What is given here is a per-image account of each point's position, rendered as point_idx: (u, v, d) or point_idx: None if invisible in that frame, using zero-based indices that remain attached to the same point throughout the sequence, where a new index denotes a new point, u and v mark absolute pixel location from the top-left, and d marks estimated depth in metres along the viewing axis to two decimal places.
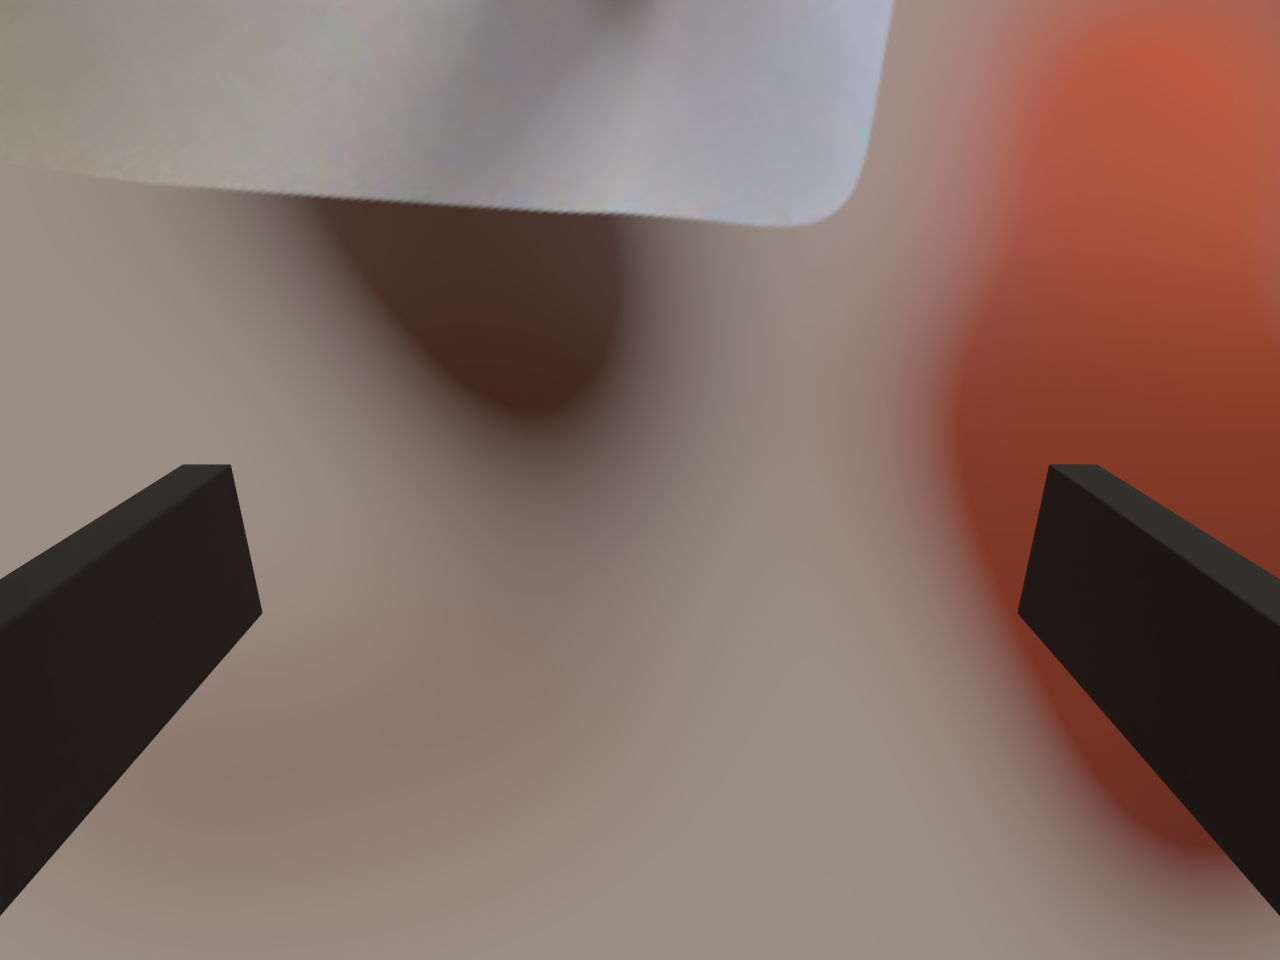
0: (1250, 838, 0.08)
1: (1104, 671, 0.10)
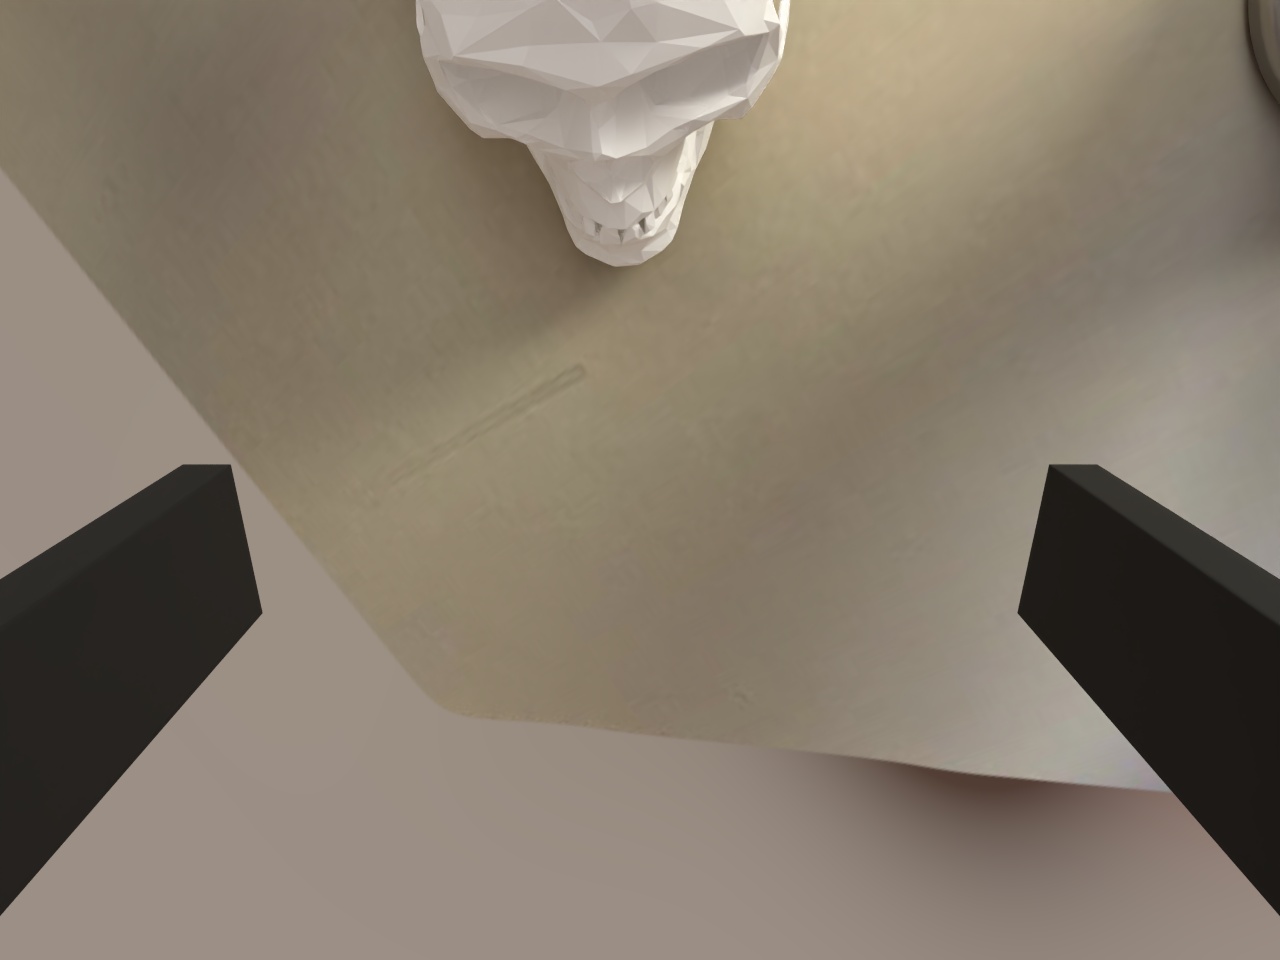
0: (1251, 838, 0.08)
1: (1104, 672, 0.10)
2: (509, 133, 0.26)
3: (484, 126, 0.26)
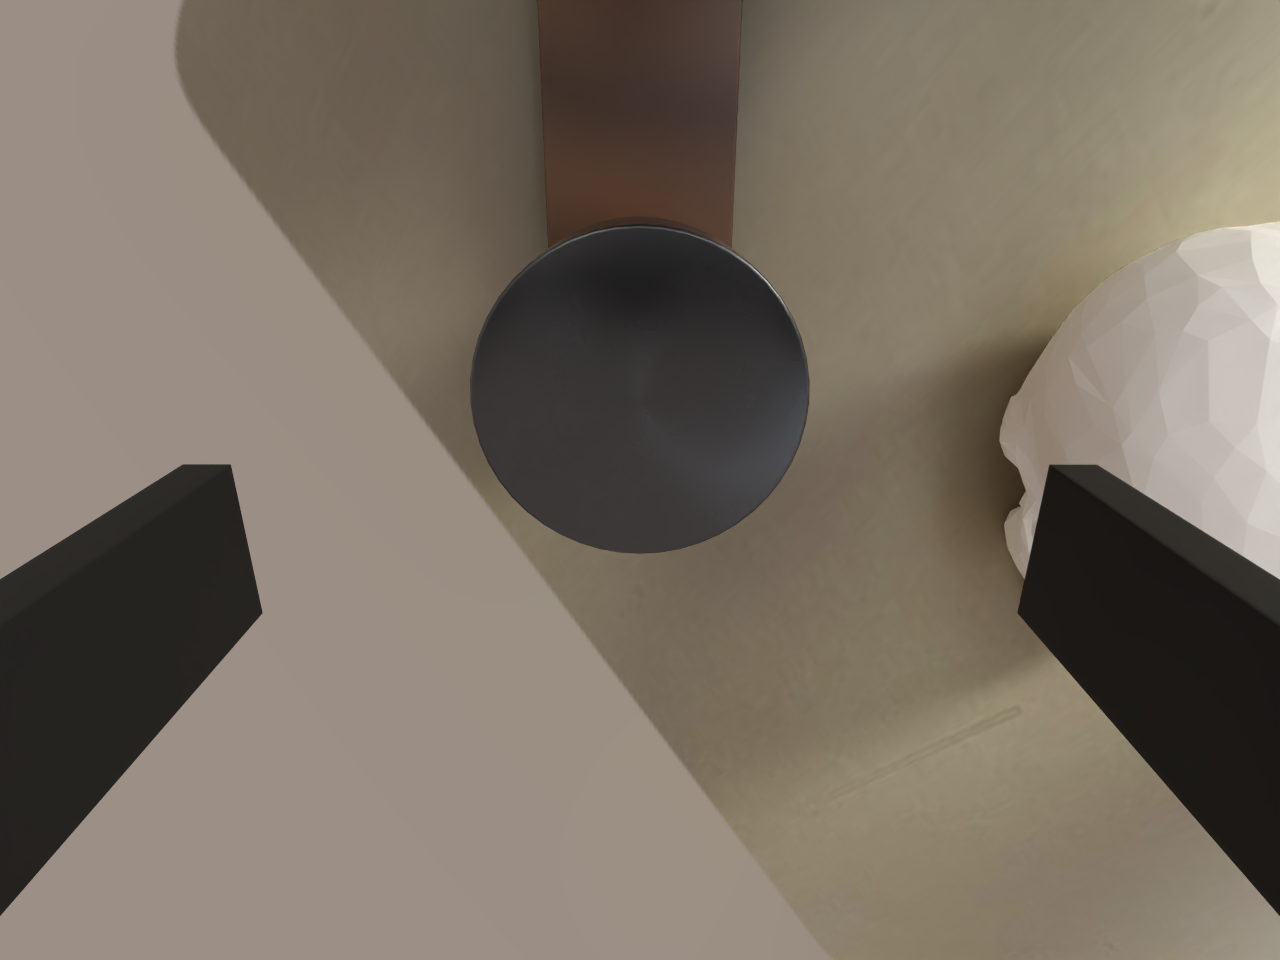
0: (1251, 839, 0.08)
1: (1104, 672, 0.10)
2: None
3: None
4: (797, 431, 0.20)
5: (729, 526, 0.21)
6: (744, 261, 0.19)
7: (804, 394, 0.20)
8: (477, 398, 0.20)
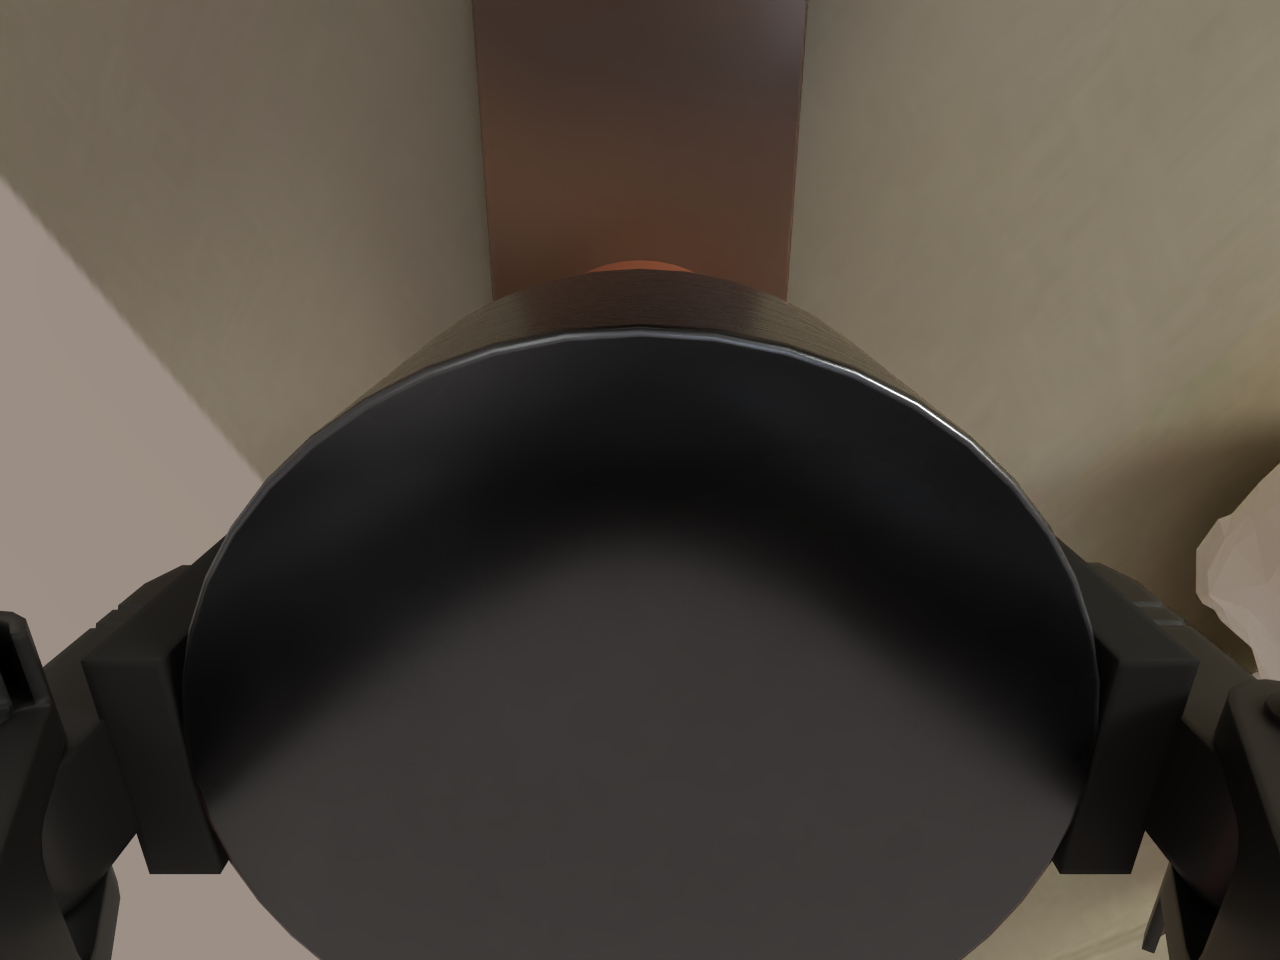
0: None
1: None
2: None
3: None
4: (1050, 838, 0.08)
5: None
6: (957, 433, 0.06)
7: (1081, 759, 0.07)
8: (207, 768, 0.08)
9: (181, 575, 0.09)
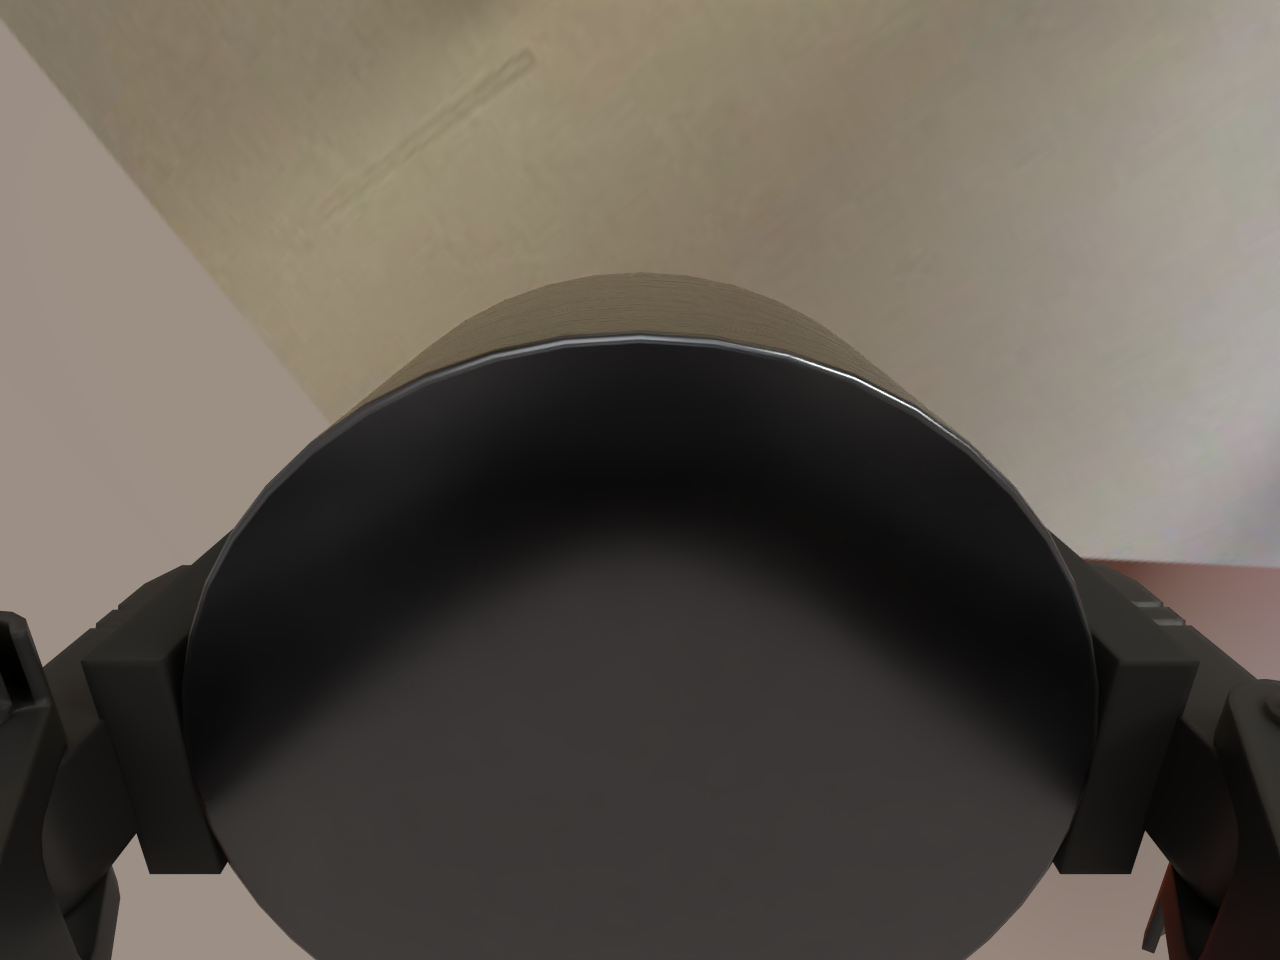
0: None
1: None
2: None
3: None
4: (1048, 843, 0.08)
5: None
6: (956, 439, 0.06)
7: (1080, 764, 0.07)
8: (207, 772, 0.08)
9: (181, 575, 0.09)
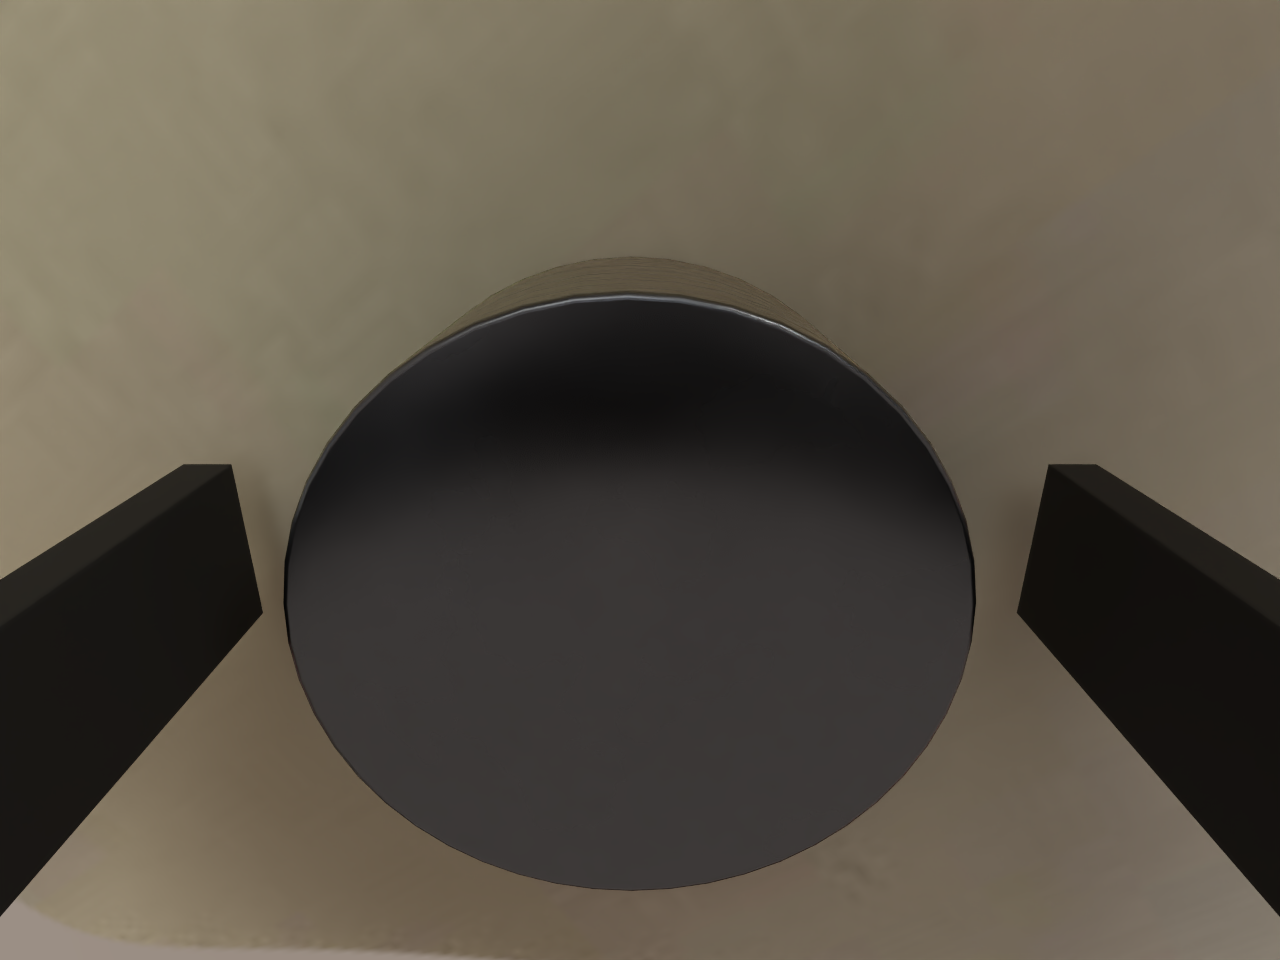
0: (1250, 837, 0.08)
1: (1103, 671, 0.10)
2: None
3: None
4: (944, 692, 0.10)
5: (802, 849, 0.11)
6: (856, 370, 0.09)
7: (964, 626, 0.10)
8: (300, 634, 0.10)
9: None
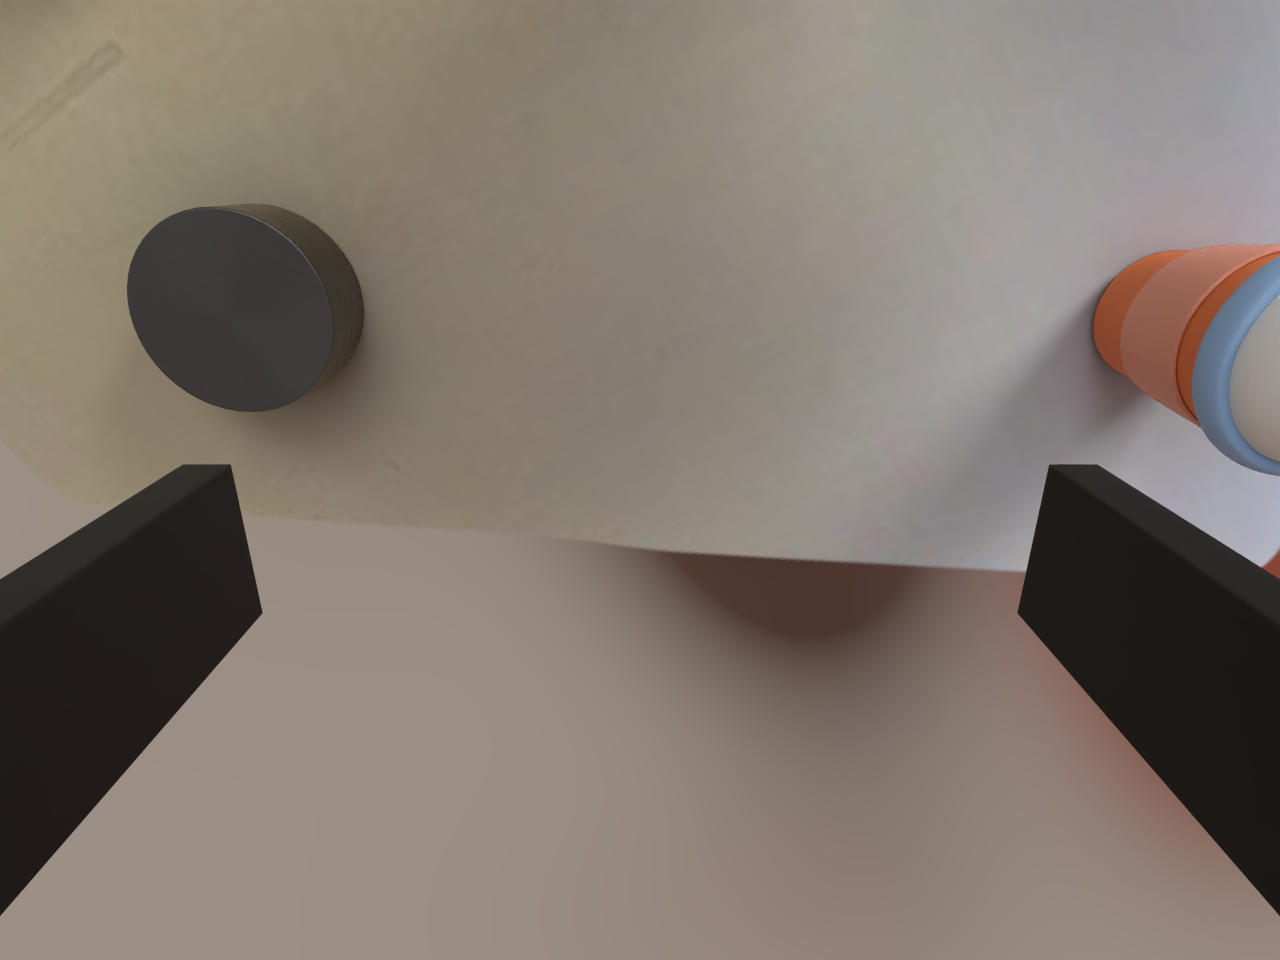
0: (1251, 838, 0.08)
1: (1104, 672, 0.10)
2: None
3: None
4: (329, 332, 0.34)
5: (301, 393, 0.35)
6: (274, 228, 0.32)
7: (328, 309, 0.34)
8: (133, 311, 0.34)
9: None
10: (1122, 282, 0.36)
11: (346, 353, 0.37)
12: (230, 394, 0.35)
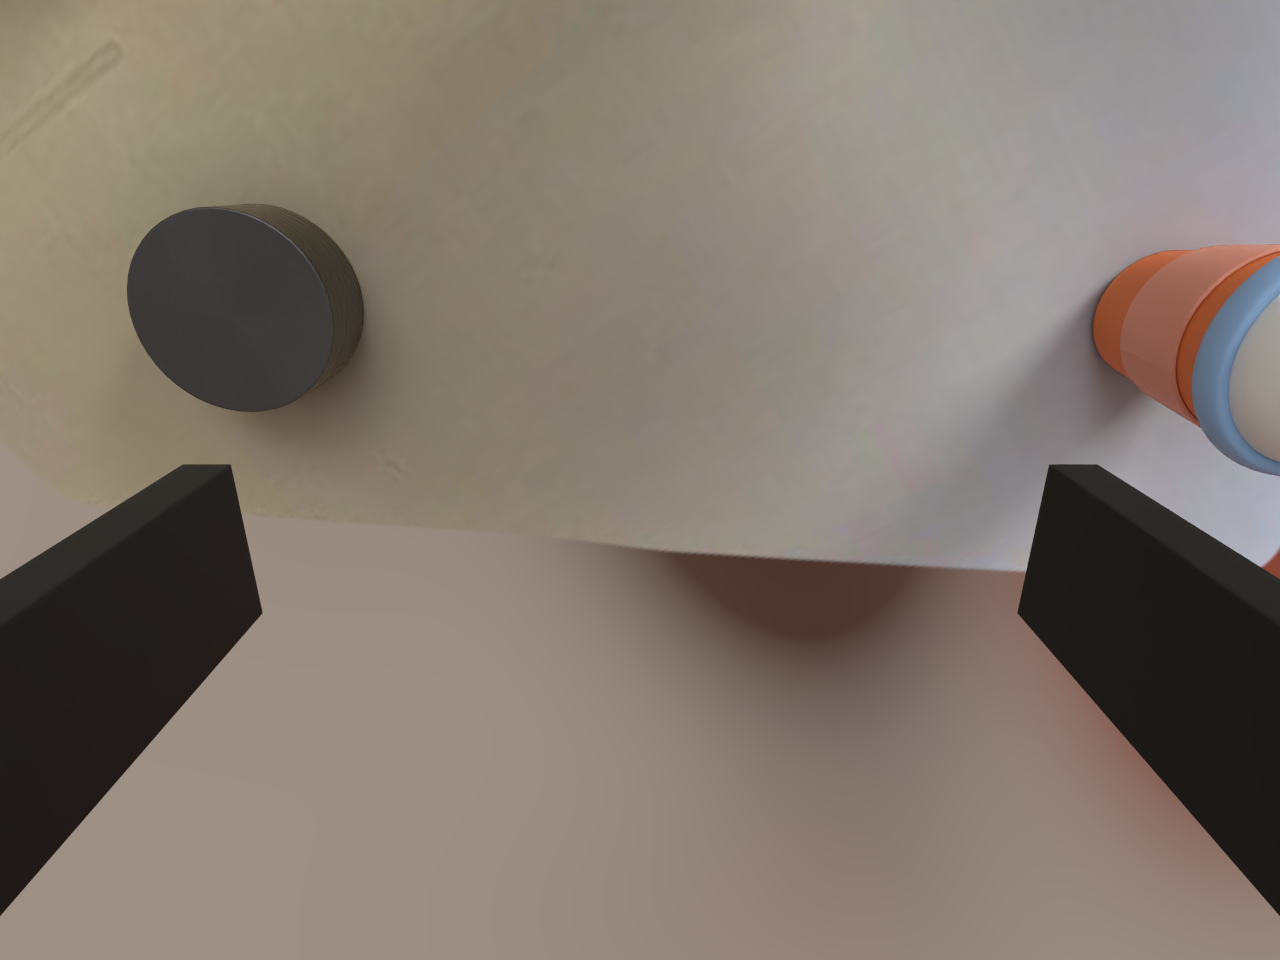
0: (1251, 838, 0.08)
1: (1104, 672, 0.10)
2: None
3: None
4: (329, 332, 0.34)
5: (301, 393, 0.35)
6: (274, 228, 0.32)
7: (328, 309, 0.34)
8: (133, 311, 0.34)
9: None
10: (1122, 282, 0.36)
11: (346, 353, 0.37)
12: (230, 394, 0.35)
